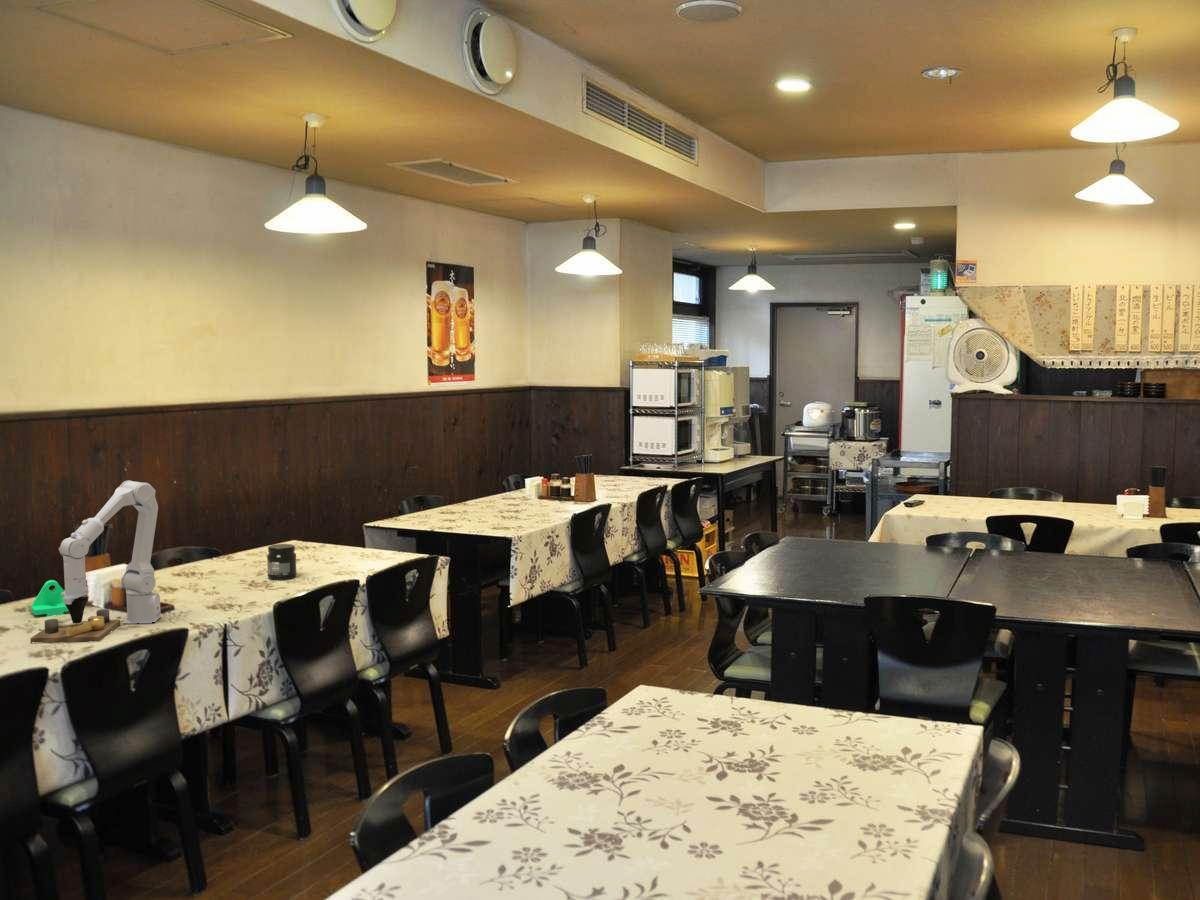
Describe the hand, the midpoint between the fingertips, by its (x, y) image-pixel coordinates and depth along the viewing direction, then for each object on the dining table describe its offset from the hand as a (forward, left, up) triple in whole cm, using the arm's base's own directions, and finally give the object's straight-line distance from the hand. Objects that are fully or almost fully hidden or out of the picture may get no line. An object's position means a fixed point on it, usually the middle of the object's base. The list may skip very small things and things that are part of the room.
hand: (77, 622), depth 323 cm
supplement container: (-46, -76, -4) cm, 89 cm away
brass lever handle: (-3, +3, -2) cm, 5 cm away
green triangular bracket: (+17, -28, -4) cm, 33 cm away
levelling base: (+1, -1, -4) cm, 4 cm away
